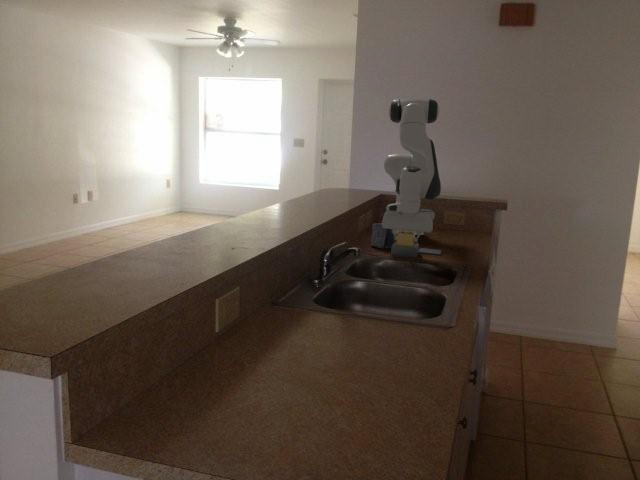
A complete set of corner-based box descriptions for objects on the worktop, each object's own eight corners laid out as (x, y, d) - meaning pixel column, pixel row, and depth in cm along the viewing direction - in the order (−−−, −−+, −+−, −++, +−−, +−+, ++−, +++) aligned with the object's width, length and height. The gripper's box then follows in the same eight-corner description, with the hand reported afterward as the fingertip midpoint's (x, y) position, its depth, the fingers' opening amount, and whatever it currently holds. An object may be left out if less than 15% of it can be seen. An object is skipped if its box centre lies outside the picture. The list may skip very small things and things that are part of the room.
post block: (394, 250, 238) (395, 229, 236) (418, 253, 236) (420, 231, 234) (390, 255, 228) (392, 233, 227) (415, 257, 226) (417, 235, 224)
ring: (398, 242, 235) (399, 230, 234) (414, 244, 234) (415, 232, 233) (396, 245, 229) (397, 232, 228) (412, 246, 228) (413, 234, 227)
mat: (420, 249, 245) (420, 247, 245) (441, 251, 243) (441, 250, 242) (418, 253, 236) (418, 251, 236) (440, 255, 234) (440, 254, 234)
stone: (398, 252, 244) (386, 248, 236) (378, 252, 250) (366, 248, 242) (400, 225, 246) (388, 220, 238) (380, 226, 252) (368, 221, 244)
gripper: (435, 208, 229) (432, 242, 232) (385, 204, 234) (382, 237, 237) (434, 210, 223) (431, 245, 226) (382, 206, 228) (380, 240, 230)
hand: (405, 241), depth 231 cm, fingers closed on ring, 6 cm apart
